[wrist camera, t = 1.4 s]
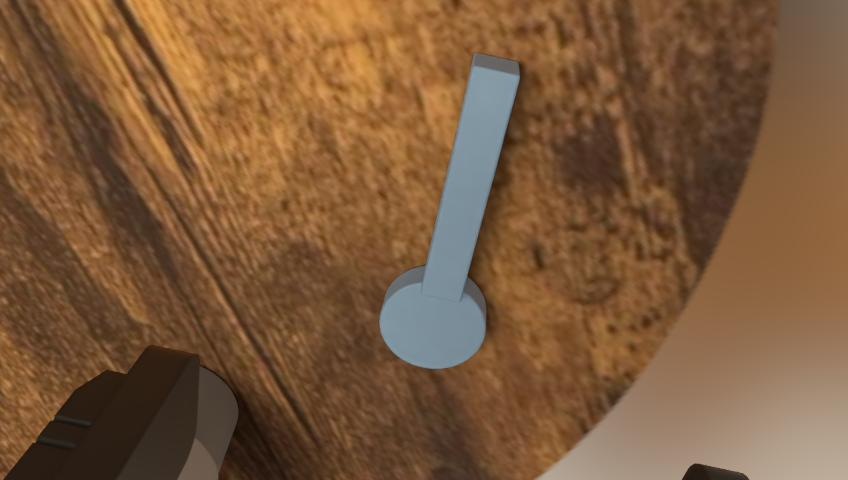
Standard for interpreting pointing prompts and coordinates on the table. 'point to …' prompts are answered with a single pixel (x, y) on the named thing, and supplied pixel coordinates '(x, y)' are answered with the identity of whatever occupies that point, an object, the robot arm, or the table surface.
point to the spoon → (455, 233)
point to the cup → (211, 428)
